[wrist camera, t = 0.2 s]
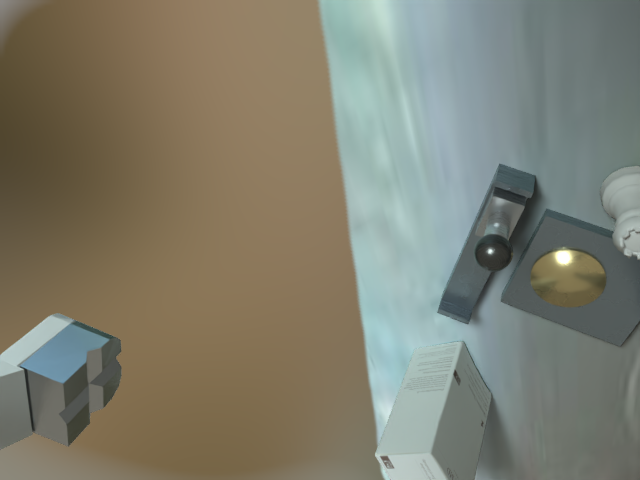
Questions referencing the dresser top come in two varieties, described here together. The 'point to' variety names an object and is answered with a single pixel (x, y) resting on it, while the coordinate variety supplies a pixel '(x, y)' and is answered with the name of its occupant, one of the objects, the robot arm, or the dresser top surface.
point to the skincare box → (436, 417)
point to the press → (555, 273)
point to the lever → (497, 229)
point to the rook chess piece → (624, 208)
